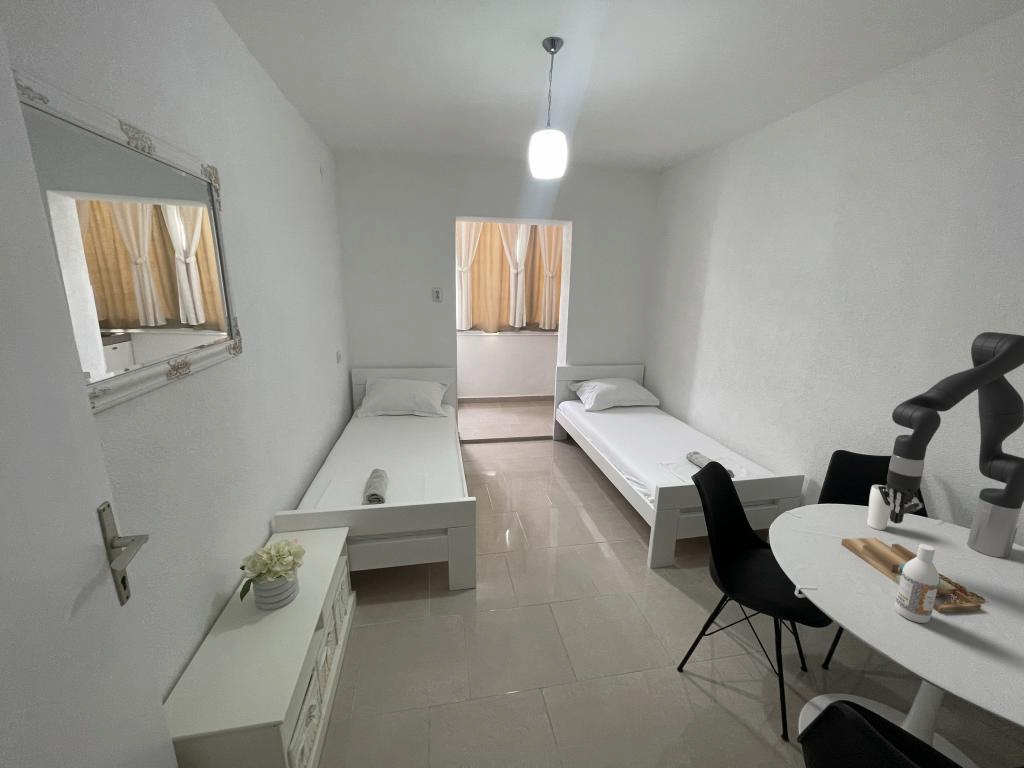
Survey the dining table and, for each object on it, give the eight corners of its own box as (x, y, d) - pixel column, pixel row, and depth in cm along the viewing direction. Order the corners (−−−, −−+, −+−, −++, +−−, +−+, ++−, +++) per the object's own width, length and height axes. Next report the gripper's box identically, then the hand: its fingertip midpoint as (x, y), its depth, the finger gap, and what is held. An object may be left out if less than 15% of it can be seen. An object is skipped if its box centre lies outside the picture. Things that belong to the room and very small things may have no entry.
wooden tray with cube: (874, 542, 146) (876, 530, 145) (979, 610, 115) (983, 595, 114) (841, 544, 145) (843, 532, 144) (939, 612, 114) (942, 598, 113)
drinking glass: (879, 522, 159) (886, 484, 156) (893, 532, 152) (901, 493, 149) (859, 521, 160) (866, 484, 156) (872, 531, 153) (880, 492, 150)
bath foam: (916, 626, 110) (932, 556, 105) (887, 607, 116) (901, 541, 112) (936, 621, 111) (953, 553, 107) (907, 603, 118) (922, 537, 114)
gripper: (940, 478, 122) (928, 533, 126) (896, 460, 135) (886, 510, 139) (915, 480, 122) (904, 534, 126) (874, 461, 135) (865, 512, 139)
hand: (895, 522), depth 132 cm, fingers closed
